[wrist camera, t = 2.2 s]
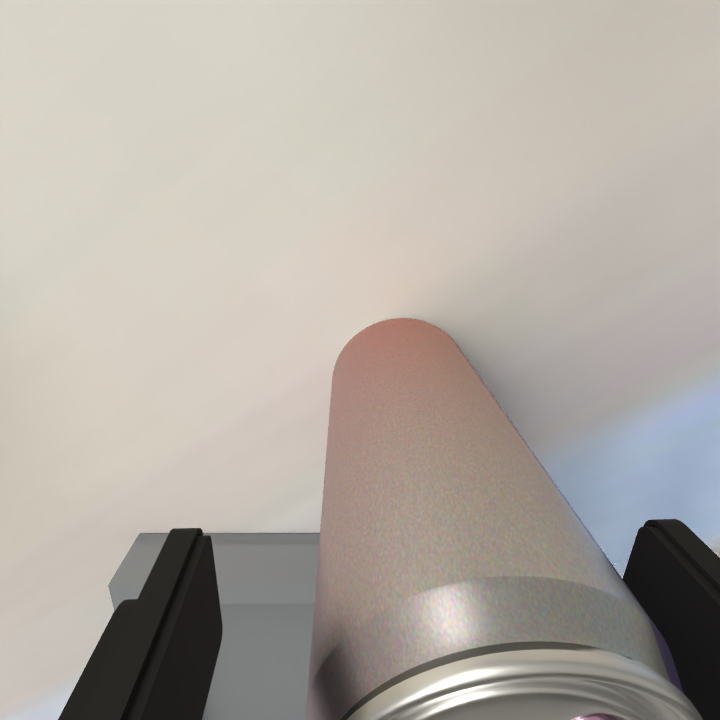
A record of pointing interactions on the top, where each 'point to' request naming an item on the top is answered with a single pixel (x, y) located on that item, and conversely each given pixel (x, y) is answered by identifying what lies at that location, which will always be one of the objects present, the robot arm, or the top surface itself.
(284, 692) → the tray
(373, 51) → the top surface
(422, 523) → the beverage can
